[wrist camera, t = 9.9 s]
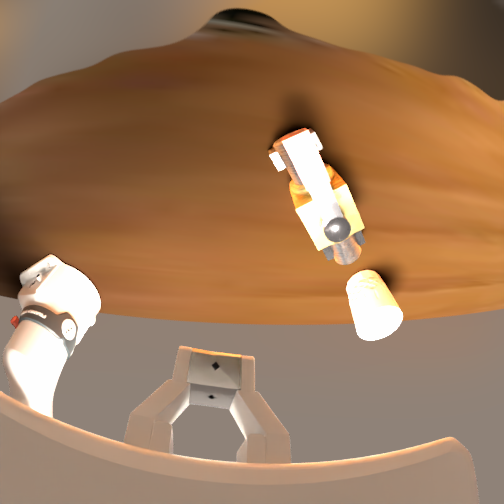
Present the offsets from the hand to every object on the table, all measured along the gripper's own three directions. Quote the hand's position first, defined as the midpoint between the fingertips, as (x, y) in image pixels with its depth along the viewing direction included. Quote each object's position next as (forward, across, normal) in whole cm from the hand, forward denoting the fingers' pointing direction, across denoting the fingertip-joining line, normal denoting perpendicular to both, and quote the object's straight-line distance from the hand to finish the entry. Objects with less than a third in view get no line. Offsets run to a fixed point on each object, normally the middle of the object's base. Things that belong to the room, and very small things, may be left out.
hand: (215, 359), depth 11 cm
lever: (+23, -9, 0) cm, 25 cm away
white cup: (+31, -26, +18) cm, 44 cm away
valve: (+31, -12, +4) cm, 34 cm away
